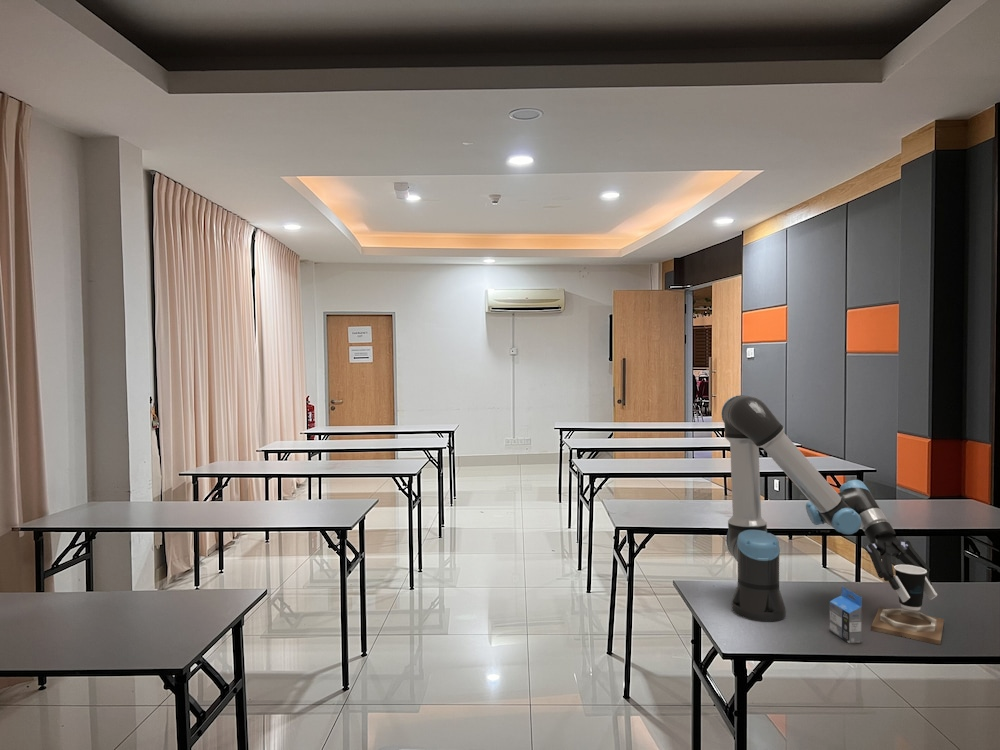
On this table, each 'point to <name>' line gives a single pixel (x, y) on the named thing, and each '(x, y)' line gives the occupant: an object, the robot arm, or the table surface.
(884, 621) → the board
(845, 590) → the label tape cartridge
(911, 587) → the dixie cup
